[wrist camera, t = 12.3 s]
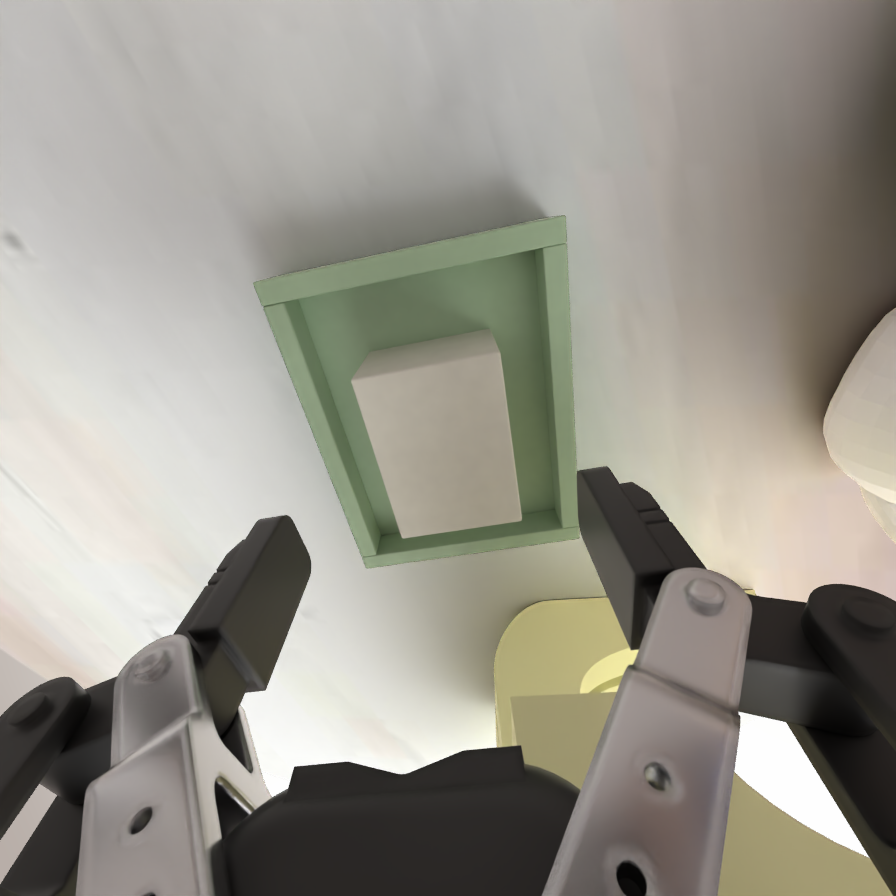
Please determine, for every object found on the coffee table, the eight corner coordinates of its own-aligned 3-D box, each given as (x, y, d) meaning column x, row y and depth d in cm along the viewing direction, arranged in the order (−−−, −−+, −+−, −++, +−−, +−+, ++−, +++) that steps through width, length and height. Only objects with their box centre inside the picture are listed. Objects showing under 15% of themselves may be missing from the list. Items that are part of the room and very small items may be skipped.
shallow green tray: (277, 275, 16) (252, 282, 14) (549, 216, 15) (565, 214, 13) (373, 538, 22) (366, 569, 20) (567, 509, 21) (579, 538, 19)
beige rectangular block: (368, 351, 16) (349, 379, 13) (490, 327, 16) (500, 351, 13) (409, 491, 20) (401, 539, 16) (510, 474, 19) (522, 521, 16)
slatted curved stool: (482, 490, 20) (595, 1337, 5) (803, 470, 20) (2121, 1362, 4) (494, 773, 35) (532, 1217, 19) (680, 767, 34) (876, 1218, 19)
